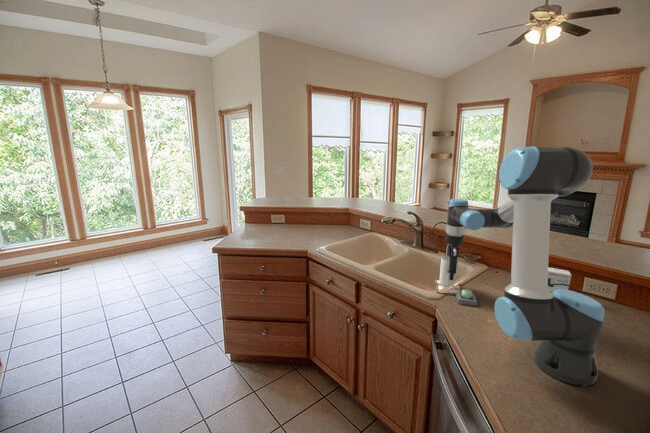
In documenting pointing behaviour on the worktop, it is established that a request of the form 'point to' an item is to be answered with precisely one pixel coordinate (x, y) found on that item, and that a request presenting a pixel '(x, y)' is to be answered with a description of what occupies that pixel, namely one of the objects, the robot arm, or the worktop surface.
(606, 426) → the worktop surface
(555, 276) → the ink box
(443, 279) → the mug
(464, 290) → the button
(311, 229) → the worktop surface
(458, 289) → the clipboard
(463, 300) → the button base
